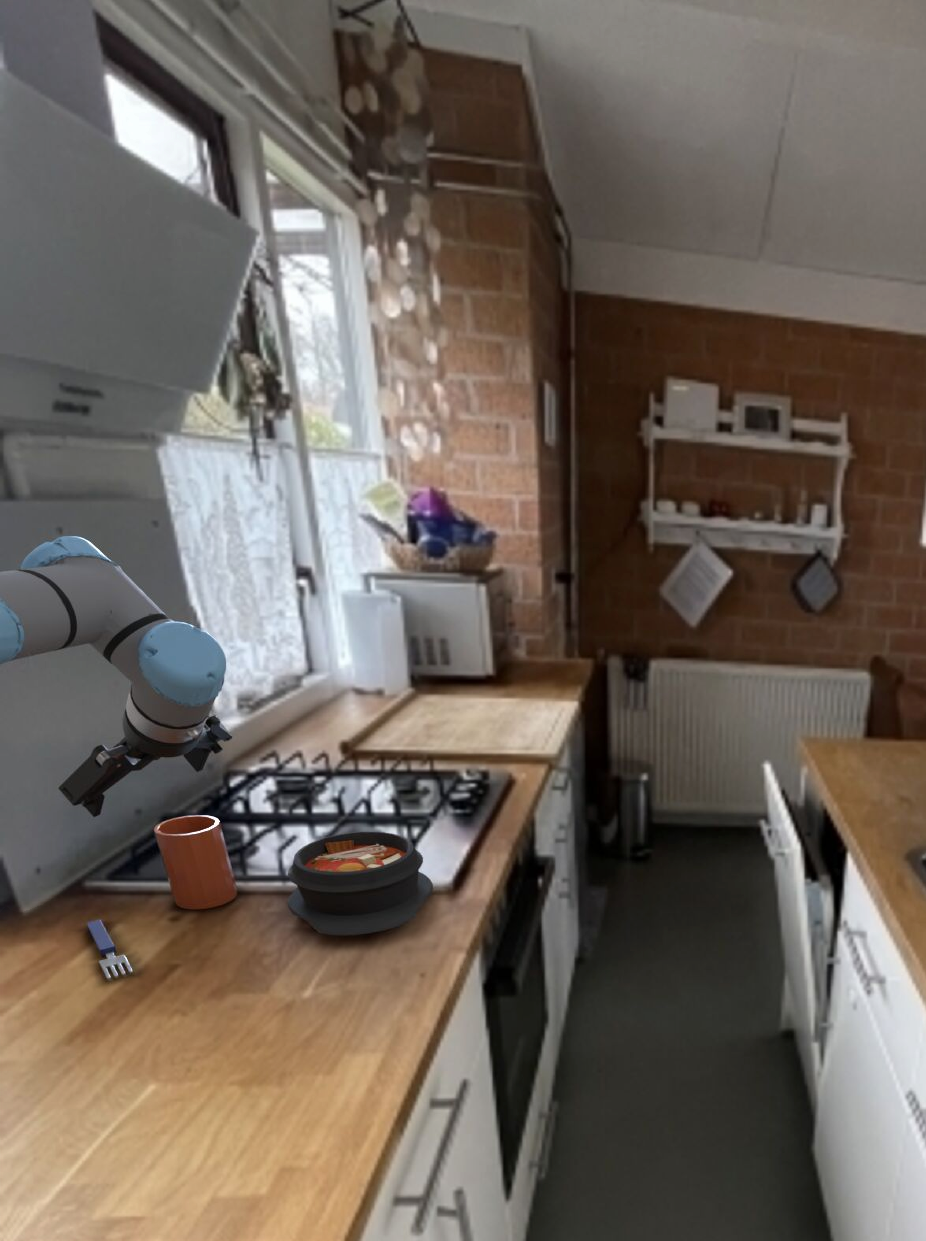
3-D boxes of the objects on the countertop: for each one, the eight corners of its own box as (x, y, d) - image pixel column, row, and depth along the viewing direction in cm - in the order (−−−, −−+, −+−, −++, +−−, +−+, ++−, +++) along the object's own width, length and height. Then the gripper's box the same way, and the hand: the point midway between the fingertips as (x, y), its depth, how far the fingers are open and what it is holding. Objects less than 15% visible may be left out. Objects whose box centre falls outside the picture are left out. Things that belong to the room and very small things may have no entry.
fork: (83, 930, 113) (80, 923, 112) (107, 924, 114) (105, 918, 114) (107, 981, 103) (105, 974, 102) (134, 974, 104) (132, 967, 104)
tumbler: (169, 895, 122) (148, 822, 117) (229, 881, 127) (210, 811, 122) (183, 914, 118) (161, 839, 113) (244, 900, 122) (225, 827, 117)
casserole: (290, 879, 129) (278, 826, 125) (424, 862, 137) (416, 812, 133) (290, 958, 109) (276, 899, 106) (446, 934, 117) (438, 877, 113)
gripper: (75, 789, 93) (63, 852, 108) (285, 703, 110) (249, 768, 125) (23, 730, 91) (18, 802, 106) (244, 652, 108) (213, 724, 123)
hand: (143, 784), depth 116 cm, fingers open, 13 cm apart
